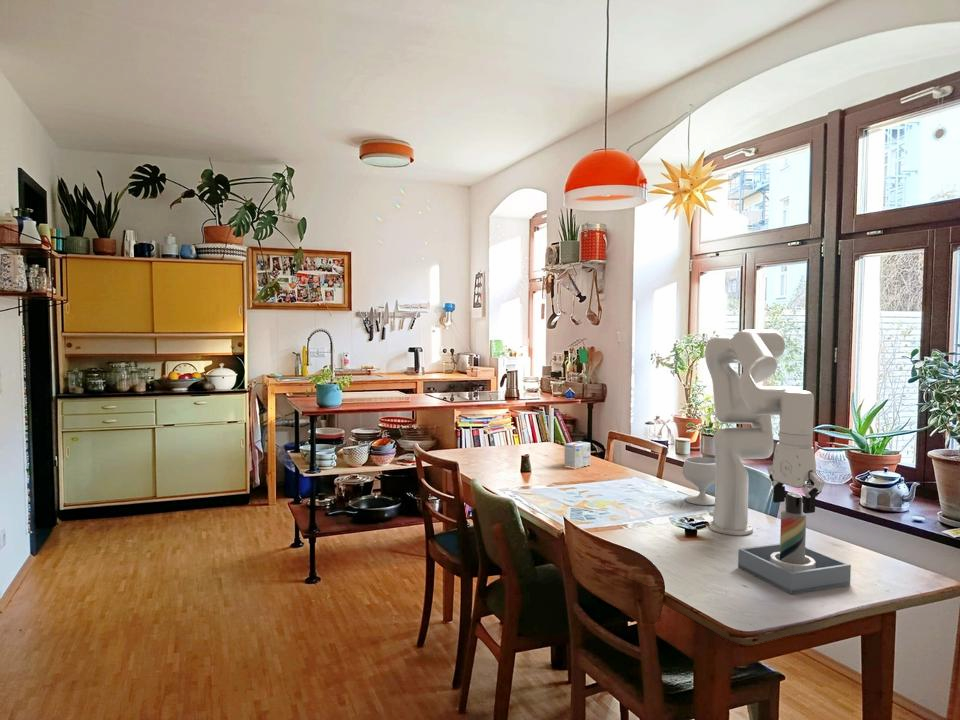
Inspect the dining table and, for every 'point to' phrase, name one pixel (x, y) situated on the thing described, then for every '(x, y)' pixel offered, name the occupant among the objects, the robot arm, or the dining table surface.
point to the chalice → (700, 478)
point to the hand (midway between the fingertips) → (793, 507)
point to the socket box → (794, 569)
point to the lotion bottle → (793, 530)
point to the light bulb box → (577, 454)
